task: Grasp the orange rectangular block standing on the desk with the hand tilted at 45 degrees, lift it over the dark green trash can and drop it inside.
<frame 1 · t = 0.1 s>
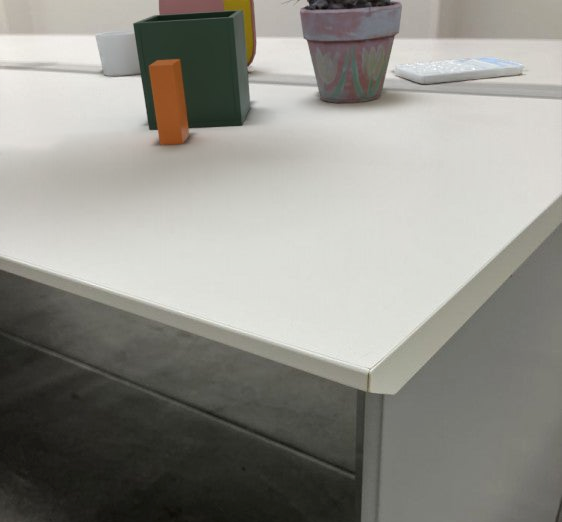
orange rectangular block: (175, 144, 90), on the table
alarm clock: (212, 74, 144), on the table
mug: (129, 72, 153), on the table
calculator: (457, 75, 125), on the table
potted plant: (344, 98, 112), on the table
trash can: (202, 117, 104), on the table
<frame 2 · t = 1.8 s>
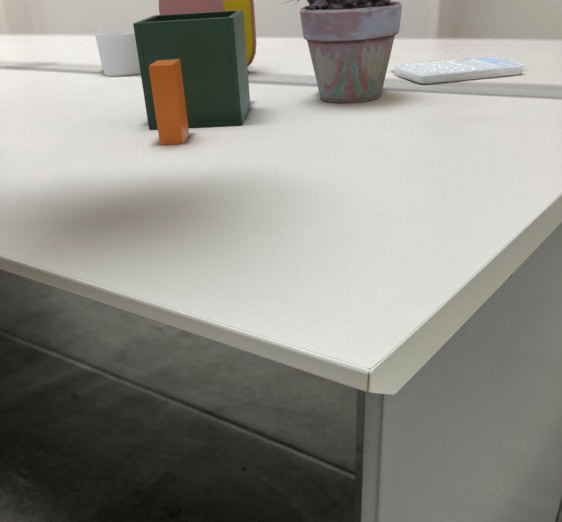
nothing on the table moved.
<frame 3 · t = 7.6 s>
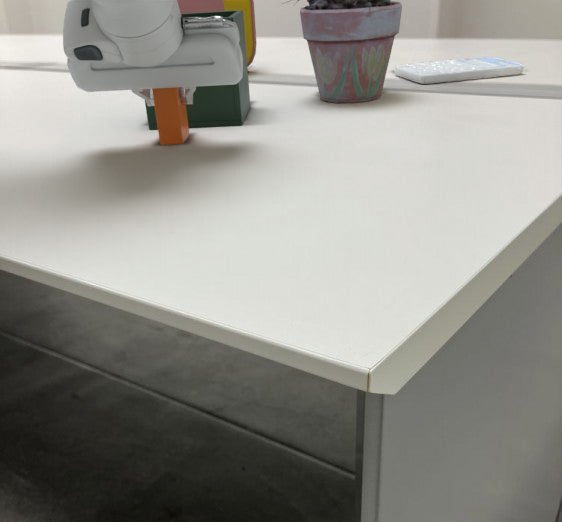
hand: (170, 100, 87), 5 cm above the table, tool tilted 45°, fingers closed on orange rectangular block, 3 cm apart
orange rectangular block: (175, 144, 90), on the table, touching gripper
everything else where it was.
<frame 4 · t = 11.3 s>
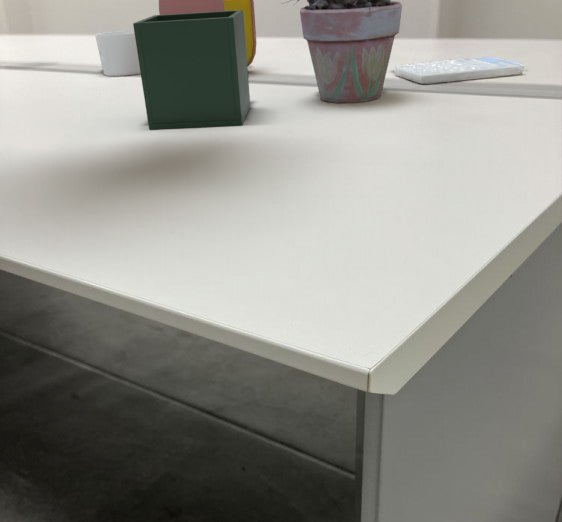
when the fingers open (21 cm above the table, at t = 15.3 s): orange rectangular block drops 15 cm, resting on trash can.
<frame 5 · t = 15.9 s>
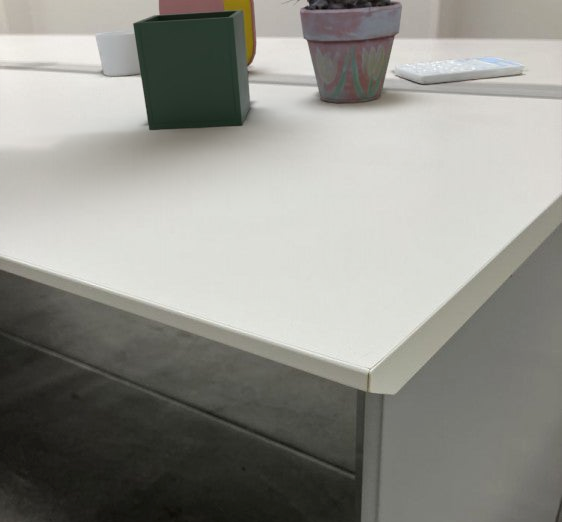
orange rectangular block: (201, 112, 104), point 1 cm above the table, touching trash can
everything else where it was.
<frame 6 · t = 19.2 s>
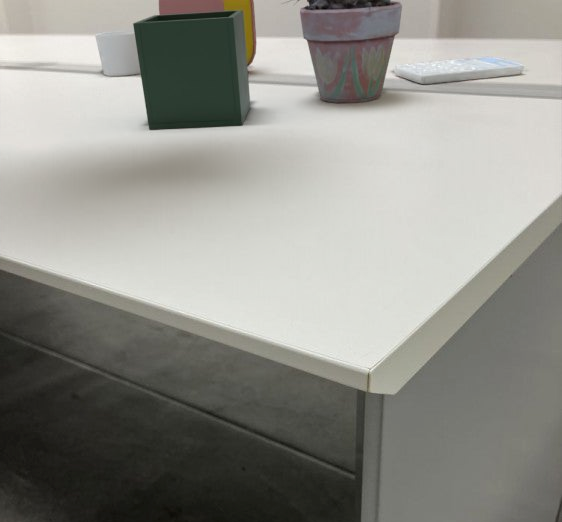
nothing on the table moved.
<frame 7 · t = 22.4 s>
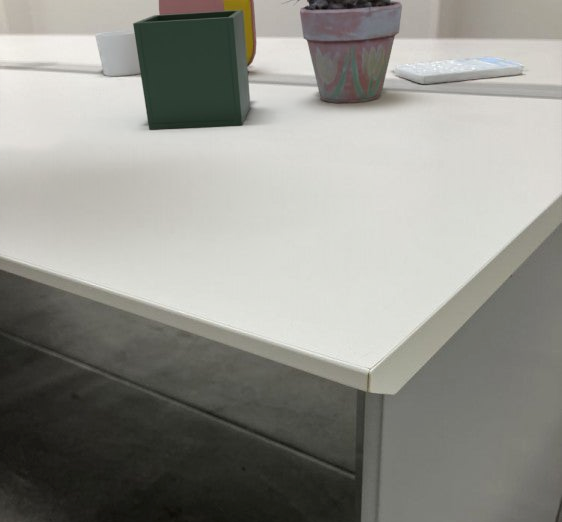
nothing on the table moved.
at the end: orange rectangular block inside the target area in the trash can (0.0 cm from its centre), point 0.8 cm above the trash can's base; the gripper is holding nothing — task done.
